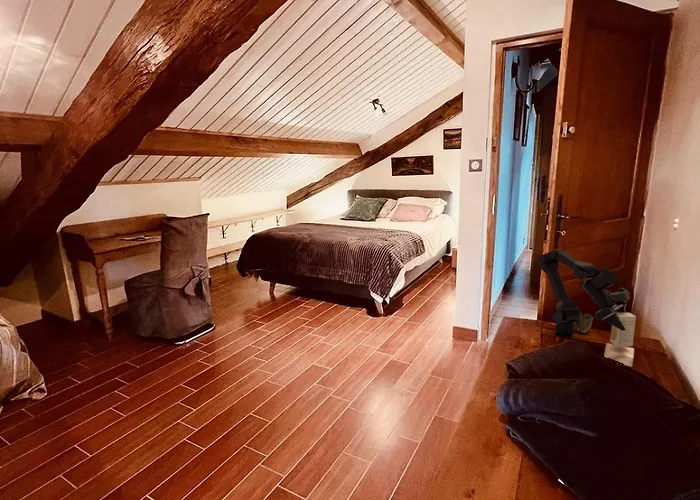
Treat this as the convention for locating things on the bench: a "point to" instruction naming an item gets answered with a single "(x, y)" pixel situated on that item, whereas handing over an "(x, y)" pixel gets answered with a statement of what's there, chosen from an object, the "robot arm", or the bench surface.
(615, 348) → the birch block
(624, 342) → the skincare box
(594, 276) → the robot arm
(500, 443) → the bench surface
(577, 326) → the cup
